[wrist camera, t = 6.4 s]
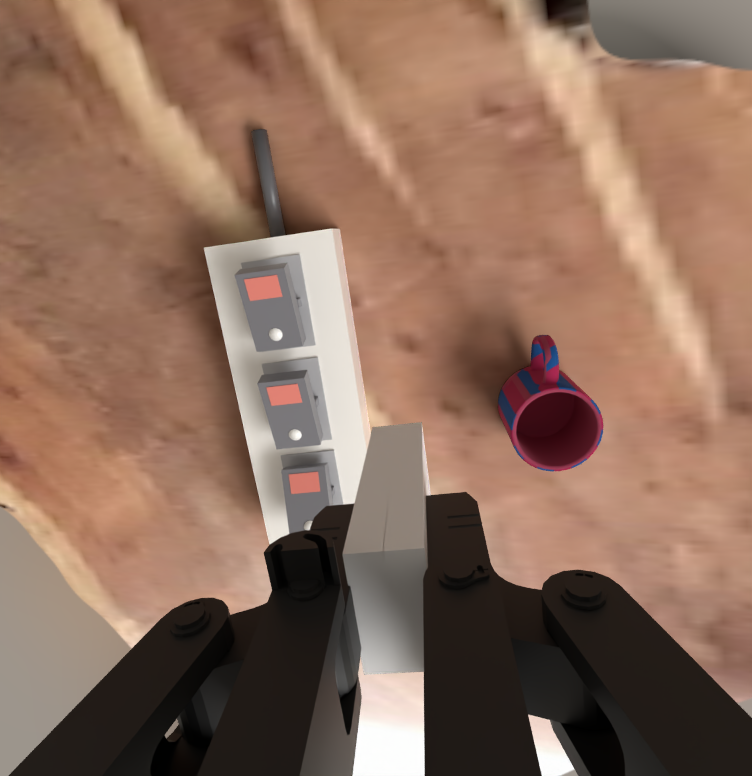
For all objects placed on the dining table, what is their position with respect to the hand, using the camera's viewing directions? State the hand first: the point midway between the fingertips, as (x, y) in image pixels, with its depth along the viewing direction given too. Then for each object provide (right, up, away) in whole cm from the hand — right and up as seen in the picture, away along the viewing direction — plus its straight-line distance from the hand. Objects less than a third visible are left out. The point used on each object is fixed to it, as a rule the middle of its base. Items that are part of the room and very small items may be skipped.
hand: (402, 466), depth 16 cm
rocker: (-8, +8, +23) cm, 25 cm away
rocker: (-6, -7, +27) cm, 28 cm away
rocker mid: (-7, +1, +25) cm, 26 cm away
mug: (+13, +3, +29) cm, 32 cm away
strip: (-8, +6, +29) cm, 31 cm away
